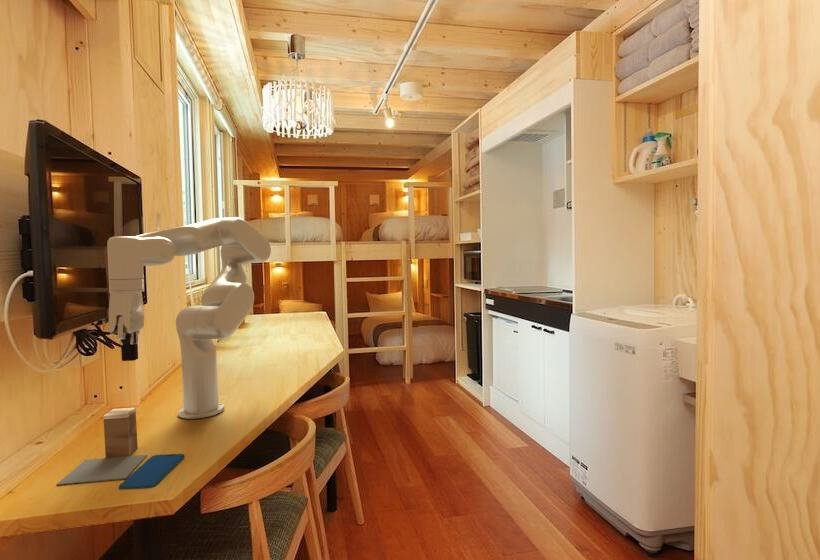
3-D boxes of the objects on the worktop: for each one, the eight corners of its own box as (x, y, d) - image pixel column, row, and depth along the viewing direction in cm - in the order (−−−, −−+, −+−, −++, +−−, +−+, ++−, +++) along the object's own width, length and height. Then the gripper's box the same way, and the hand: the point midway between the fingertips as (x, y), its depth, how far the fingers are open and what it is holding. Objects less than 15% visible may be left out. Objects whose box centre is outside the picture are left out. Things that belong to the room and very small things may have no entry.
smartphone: (116, 487, 96) (152, 455, 111) (116, 492, 96) (153, 459, 111) (154, 486, 96) (185, 453, 111) (154, 490, 96) (186, 457, 111)
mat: (85, 461, 110) (85, 459, 110) (147, 455, 112) (147, 454, 112) (56, 485, 98) (56, 484, 98) (126, 479, 100) (126, 477, 100)
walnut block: (115, 450, 116) (112, 409, 116) (137, 448, 117) (135, 407, 116) (105, 458, 111) (103, 415, 111) (129, 456, 112) (127, 414, 111)
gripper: (122, 285, 127) (125, 355, 127) (96, 288, 112) (99, 367, 113) (153, 284, 128) (156, 353, 129) (131, 287, 113) (134, 365, 114)
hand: (130, 359), depth 121 cm, fingers closed
